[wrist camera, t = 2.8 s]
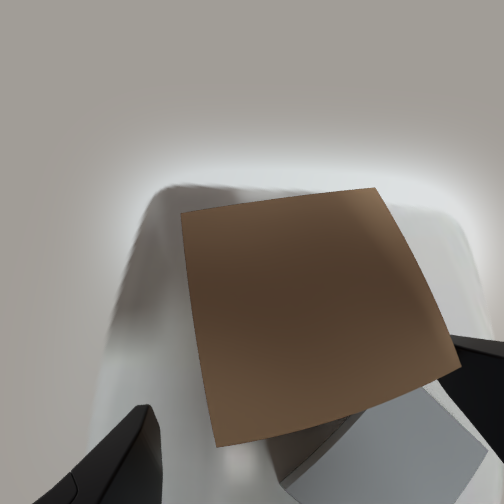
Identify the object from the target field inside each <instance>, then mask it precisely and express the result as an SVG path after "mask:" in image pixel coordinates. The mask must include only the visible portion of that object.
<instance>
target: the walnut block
mask: <svg viewBox="0 0 504 504" xmlns="http://www.w3.org/2000/svg"><path fill="white" fill-rule="evenodd" d="M181 222H182V232H183V242H184V251H185V260H186V269H187V277H188V285H189V292H190V300H191V307H192V314H193V321H194V328H195V334H196V341H197V347H198V353H199V359H200V365H201V371H202V377H203V382H204V388H205V393H206V399H207V404H208V409H209V414H210V419H211V424H212V429H213V434H214V438H215V443H216V447H217V448H218V447H224V446H230V445H236V444H242V443H247V442H252V441H257V440H262V439H267V438H271V437H276V436H280V435H284V434H288V433H292V432H296V431H300V430H304V429H307V428H311V427H314V426H318V425H321V424H324V423H328V422H331V421H334V420H337V419H340V418H343V417H346V416H349V415H352V414H355V413H358V412H361V411H364V410H366V409H369V408H372V407H374V406H377V405H380V404H382V403H385V402H387V401H390V400H392V399H395V398H397V397H399V396H402V395H404V394H406V393H409V392H411V391H413V390H415V389H418V388H420V387H422V386H424V385H426V384H428V383H431V382H433V381H435V380H437V379H439V378H441V377H443V376H445V375H447V374H449V373H451V372H452V371H454V370H456V369H458V368H460V367H462V366H461V363H460V361H459V358H458V355H457V352H456V350H455V347H454V344H453V342H452V339H451V337H450V334H449V332H448V329H447V327H446V324H445V322H444V320H443V317H442V315H441V312H440V310H439V308H438V306H437V303H436V301H435V299H434V297H433V294H432V292H431V290H430V288H429V286H428V284H427V282H426V279H425V277H424V275H423V273H422V271H421V269H420V267H419V265H418V263H417V261H416V259H415V257H414V255H413V253H412V251H411V249H410V248H409V246H408V244H407V242H406V240H405V238H404V236H403V235H402V233H401V231H400V229H399V227H398V225H397V224H396V222H395V220H394V218H393V217H392V215H391V213H390V211H389V210H388V208H387V206H386V205H385V203H384V201H383V200H382V198H381V196H380V195H379V193H378V191H377V190H376V188H365V189H355V190H345V191H336V192H327V193H318V194H310V195H302V196H294V197H286V198H278V199H271V200H264V201H256V202H249V203H242V204H236V205H229V206H222V207H216V208H210V209H203V210H197V211H191V212H185V213H181Z"/></svg>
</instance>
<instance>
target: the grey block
mask: <svg viewBox="0 0 504 504" xmlns="http://www.w3.org/2000/svg"><path fill="white" fill-rule="evenodd" d="M487 452H488V450H487V449H486V448H485V447H484V446H483V445H482V444H481V443H480V442H479V441H478V440H477V439H476V438H475V437H474V436H473V435H472V434H471V433H470V432H469V431H468V430H466V429H465V428H464V427H463V426H462V425H461V424H460V423H459V422H458V421H457V420H456V419H455V418H454V417H453V416H452V415H451V414H450V413H449V412H448V411H447V410H445V409H444V408H443V407H442V406H441V405H440V404H439V403H438V402H437V401H436V400H435V399H434V398H433V397H432V396H431V395H430V394H428V393H427V392H426V391H425V390H424V389H423V388H422V387H420V388H418V389H415V390H413V391H411V392H409V393H406V394H404V395H402V396H399V397H397V398H395V399H392V400H390V401H387V402H385V403H382V404H380V405H377V406H374V407H372V408H369V409H366V410H364V411H361V412H358V413H355V414H352V415H350V417H349V418H348V419H347V420H346V421H345V422H344V423H343V424H342V425H341V426H340V427H339V428H338V429H337V430H336V431H335V432H334V433H333V434H332V435H331V436H330V437H329V438H328V439H327V440H326V441H325V442H324V443H323V444H322V445H321V446H320V447H319V448H318V449H317V450H316V451H315V452H314V453H313V454H312V455H311V456H310V457H309V458H308V459H306V460H305V461H304V462H303V463H302V464H301V465H300V466H299V467H298V468H297V469H295V470H294V471H293V472H292V473H291V474H290V475H288V476H287V477H286V478H285V479H284V480H283V481H281V482H280V483H279V484H280V485H281V486H282V488H283V489H284V490H285V491H286V492H287V493H288V494H290V495H291V496H292V497H293V498H294V499H295V500H297V501H298V502H299V503H300V504H454V503H455V502H456V500H457V499H458V497H459V496H460V495H461V493H462V492H463V490H464V489H465V487H466V486H467V485H468V483H469V482H470V480H471V479H472V477H473V475H474V474H475V472H476V471H477V469H478V467H479V466H480V464H481V463H482V461H483V459H484V457H485V456H486V454H487Z"/></svg>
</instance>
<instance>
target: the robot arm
mask: <svg viewBox="0 0 504 504" xmlns="http://www.w3.org/2000/svg"><path fill="white" fill-rule="evenodd" d="M450 337H451V339H452V342H453V344H454V347H455V350H456V352H457V355H458V358H459V361H460V363H461V366H462V367H460V368H458V369H456V370H454V371H452V372H451V373H449V374H447V375H445V376H443V377H441V378H439V379H437V380H438V381H439V383H440V384H441V386H442V387H443V389H444V390H445V391H446V393H447V394H448V395H449V397H450V398H451V399H452V400H453V401H454V403H455V404H456V405H457V406H458V407H459V409H460V410H461V411H462V412H463V413H464V415H465V416H466V417H467V418H468V419H469V421H470V422H471V423H472V424H473V425H474V427H475V428H476V429H477V430H478V432H479V433H480V434H481V435H482V437H483V438H484V439H485V440H486V442H487V443H488V444H489V445H490V447H491V448H492V449H493V450H494V452H495V453H496V454H497V456H498V457H499V458H500V459H501V461H502V462H503V463H504V342H500V341H492V340H485V339H477V338H470V337H463V336H456V335H450ZM162 482H163V467H162V452H161V435H160V427H159V424H158V421H157V419H156V416H155V414H154V411H153V409H152V407H151V406H150V405H149V404H146V405H137V406H135V407H134V408H133V409H132V410H131V411H130V412H129V413H128V414H127V416H126V417H125V418H124V419H123V420H122V421H121V422H120V423H119V424H118V425H117V426H116V427H115V428H114V429H113V430H112V431H111V432H110V433H109V434H108V435H107V436H106V437H105V438H104V439H103V440H102V441H101V442H100V443H99V444H98V445H97V446H96V447H95V448H94V449H93V450H91V451H90V452H89V453H88V454H87V455H86V456H85V457H84V458H83V459H82V460H81V461H80V462H79V463H78V464H77V465H76V466H75V467H74V468H73V469H72V470H71V472H69V473H68V474H67V475H66V476H65V477H64V478H63V479H62V480H61V481H59V483H57V484H56V485H55V486H54V487H53V488H52V489H51V490H49V491H48V492H47V493H46V494H45V495H43V496H42V497H41V498H39V499H38V500H37V501H35V502H34V503H33V504H162Z"/></svg>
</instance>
